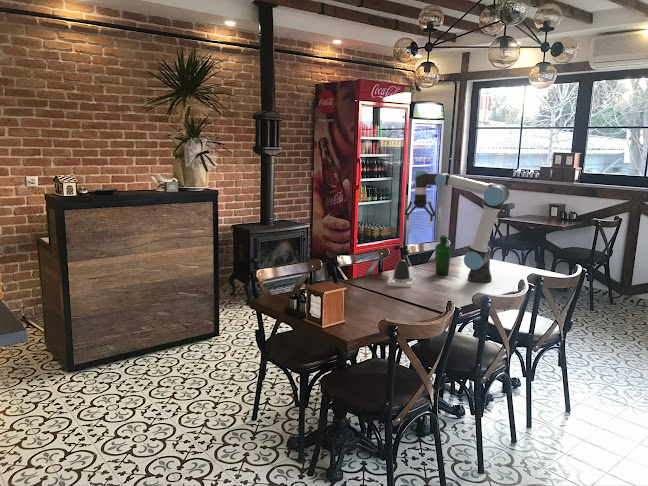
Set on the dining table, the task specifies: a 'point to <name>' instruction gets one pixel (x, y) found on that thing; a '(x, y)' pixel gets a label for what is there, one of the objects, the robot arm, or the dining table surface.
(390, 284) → the tray
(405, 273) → the egg shaped speaker
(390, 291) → the dining table surface
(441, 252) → the bottle
